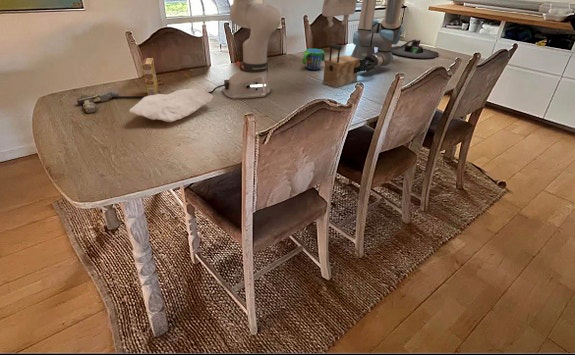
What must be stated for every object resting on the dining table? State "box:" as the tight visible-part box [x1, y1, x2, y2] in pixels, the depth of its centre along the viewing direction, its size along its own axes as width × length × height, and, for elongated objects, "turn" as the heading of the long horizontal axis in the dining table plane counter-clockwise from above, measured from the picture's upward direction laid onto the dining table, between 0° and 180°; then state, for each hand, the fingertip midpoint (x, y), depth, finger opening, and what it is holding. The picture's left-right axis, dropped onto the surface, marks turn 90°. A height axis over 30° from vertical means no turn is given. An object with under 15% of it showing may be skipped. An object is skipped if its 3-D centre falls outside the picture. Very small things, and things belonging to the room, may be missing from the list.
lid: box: [323, 43, 360, 67], centre depth 184 cm, size 17×9×10 cm, turn 132°
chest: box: [322, 62, 360, 88], centre depth 190 cm, size 17×9×10 cm, turn 132°
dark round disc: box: [391, 38, 439, 59], centre depth 252 cm, size 35×35×9 cm
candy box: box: [141, 57, 160, 96], centre depth 163 cm, size 9×4×15 cm, turn 13°
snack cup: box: [302, 48, 326, 71], centre depth 209 cm, size 16×10×10 cm
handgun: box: [76, 89, 120, 114], centre depth 155 cm, size 3×18×15 cm
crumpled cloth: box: [129, 88, 214, 123], centre depth 147 cm, size 24×35×9 cm
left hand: (337, 25), depth 173 cm, fingers open, 8 cm apart
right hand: (347, 68), depth 192 cm, fingers closed on chest, 9 cm apart
